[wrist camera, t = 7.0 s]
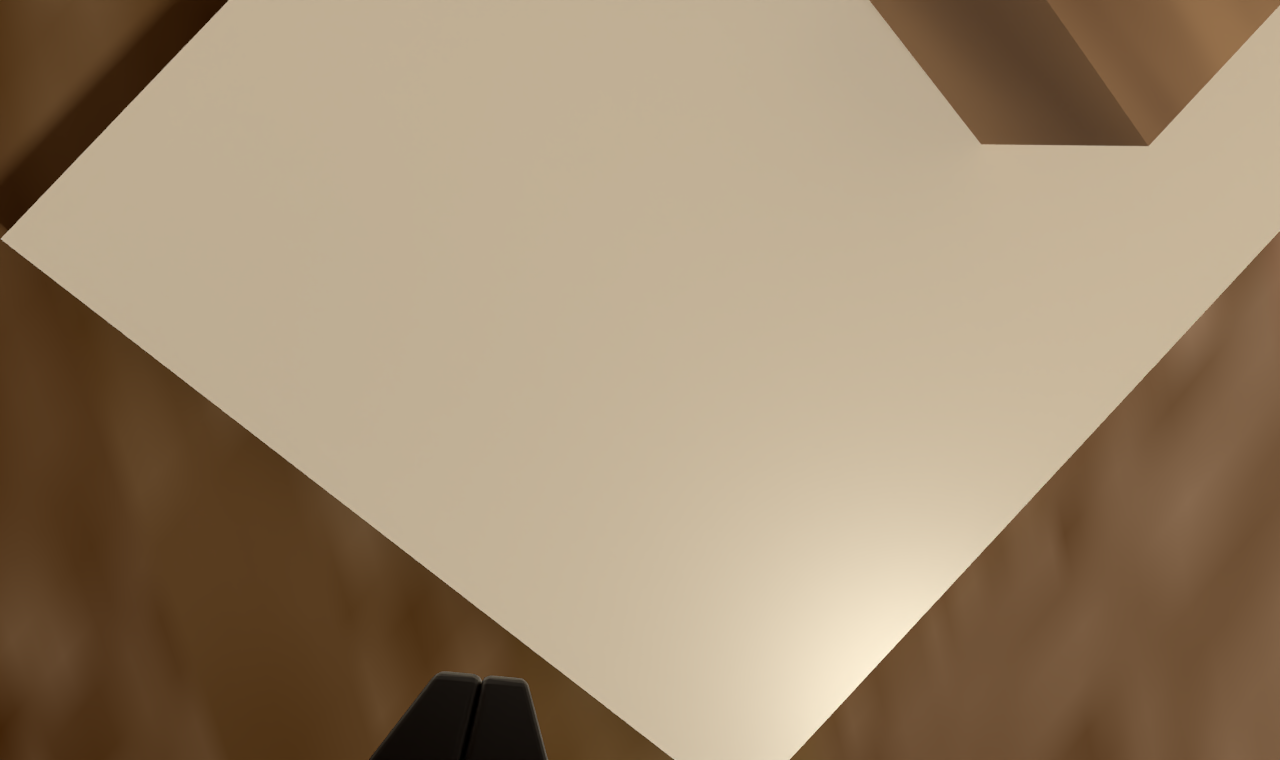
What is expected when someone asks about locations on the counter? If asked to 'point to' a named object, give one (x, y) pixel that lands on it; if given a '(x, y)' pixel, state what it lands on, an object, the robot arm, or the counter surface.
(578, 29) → the cutting board
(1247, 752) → the counter surface
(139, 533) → the counter surface
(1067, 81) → the walnut block
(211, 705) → the counter surface
